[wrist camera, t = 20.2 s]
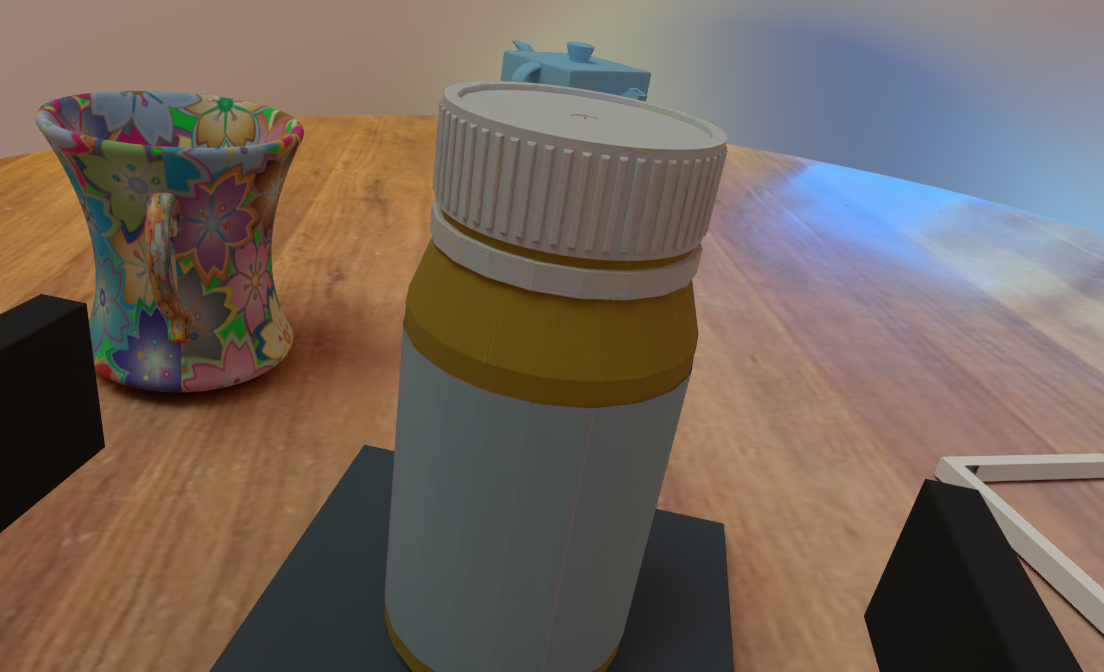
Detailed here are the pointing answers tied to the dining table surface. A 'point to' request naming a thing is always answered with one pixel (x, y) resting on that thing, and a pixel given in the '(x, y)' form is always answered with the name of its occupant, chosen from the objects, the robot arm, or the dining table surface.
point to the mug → (178, 232)
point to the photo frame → (1022, 536)
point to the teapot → (574, 70)
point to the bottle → (542, 372)
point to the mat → (360, 574)
